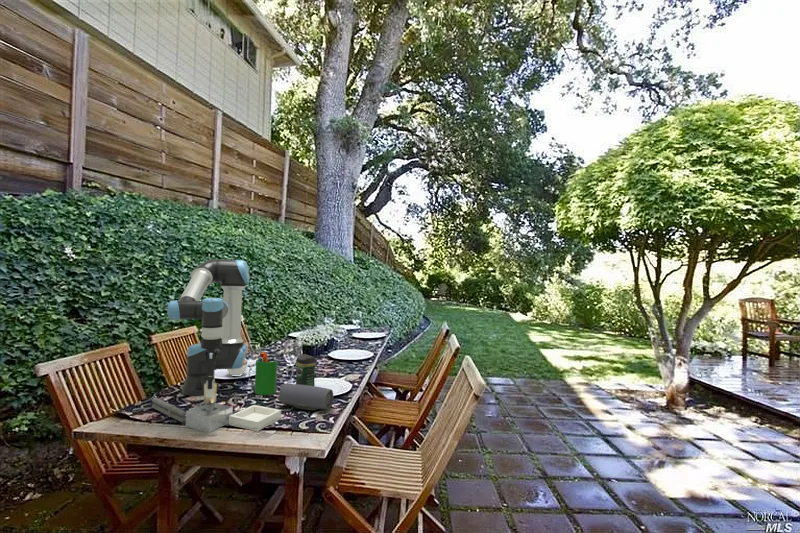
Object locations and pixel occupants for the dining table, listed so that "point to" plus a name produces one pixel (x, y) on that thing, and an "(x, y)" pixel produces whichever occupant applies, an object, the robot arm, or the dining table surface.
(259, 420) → the tray
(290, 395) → the bluetooth speaker
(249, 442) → the dining table surface
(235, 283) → the robot arm
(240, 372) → the lidded jar
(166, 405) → the metal rod assembly
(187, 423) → the block
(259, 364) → the green cylinder
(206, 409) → the tan knobbed cylinder
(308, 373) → the coffee jar
